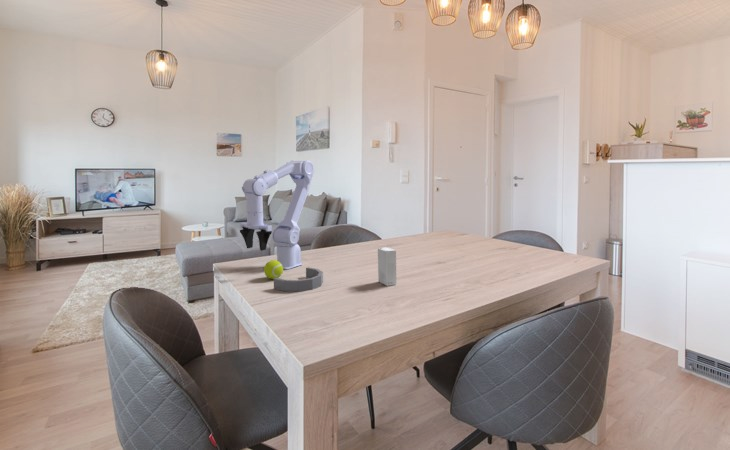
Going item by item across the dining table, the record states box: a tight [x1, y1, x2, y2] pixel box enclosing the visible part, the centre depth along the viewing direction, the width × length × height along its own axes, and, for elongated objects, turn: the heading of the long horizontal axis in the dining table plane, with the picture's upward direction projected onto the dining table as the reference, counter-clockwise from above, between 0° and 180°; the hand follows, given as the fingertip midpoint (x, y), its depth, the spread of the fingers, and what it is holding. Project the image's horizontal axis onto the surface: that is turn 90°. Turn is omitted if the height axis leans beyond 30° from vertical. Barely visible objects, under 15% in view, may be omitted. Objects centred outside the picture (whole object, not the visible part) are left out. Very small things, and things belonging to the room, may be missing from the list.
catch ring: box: [273, 266, 324, 293], centre depth 127 cm, size 17×11×4 cm, turn 148°
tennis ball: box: [263, 259, 284, 280], centre depth 134 cm, size 7×7×7 cm
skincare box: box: [377, 246, 397, 287], centre depth 129 cm, size 6×4×12 cm
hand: (256, 248), depth 137 cm, fingers open, 6 cm apart
